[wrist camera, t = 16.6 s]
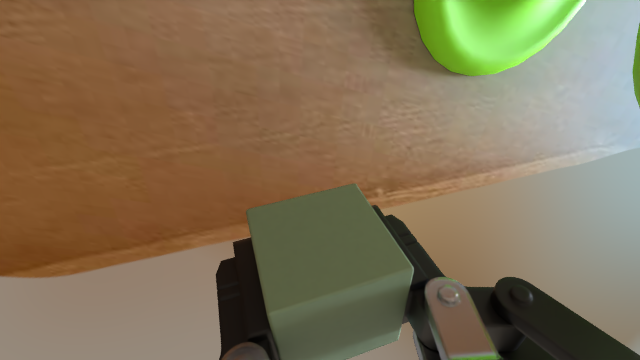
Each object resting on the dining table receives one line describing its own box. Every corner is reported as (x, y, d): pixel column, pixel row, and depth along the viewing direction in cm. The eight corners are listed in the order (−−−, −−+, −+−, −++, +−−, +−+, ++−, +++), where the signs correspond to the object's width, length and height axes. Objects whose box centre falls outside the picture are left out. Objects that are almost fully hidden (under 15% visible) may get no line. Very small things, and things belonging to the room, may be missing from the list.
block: (353, 253, 14) (399, 340, 11) (263, 280, 13) (285, 383, 10) (355, 181, 11) (416, 268, 8) (245, 208, 11) (267, 316, 7)
